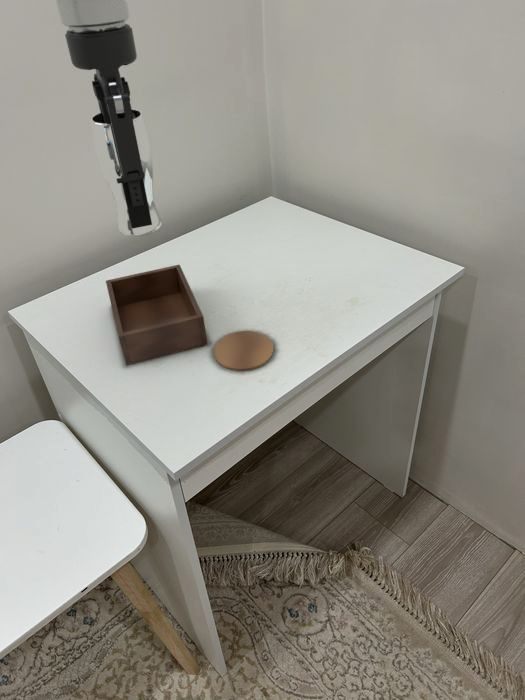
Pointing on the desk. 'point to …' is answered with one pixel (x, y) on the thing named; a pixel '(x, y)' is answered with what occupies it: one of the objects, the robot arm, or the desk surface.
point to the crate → (155, 314)
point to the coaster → (243, 350)
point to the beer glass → (112, 170)
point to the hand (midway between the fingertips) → (137, 214)
